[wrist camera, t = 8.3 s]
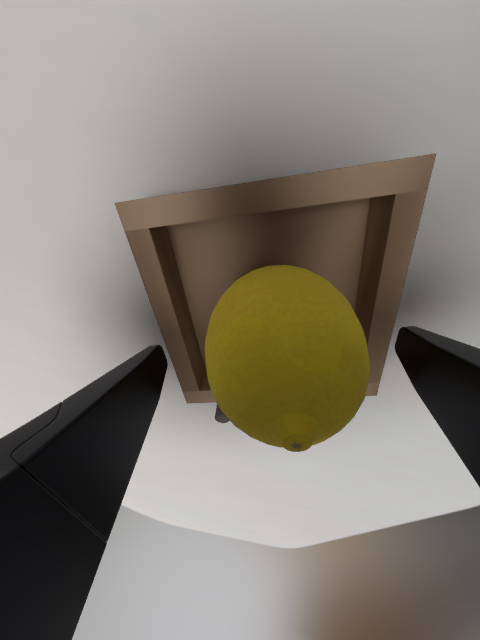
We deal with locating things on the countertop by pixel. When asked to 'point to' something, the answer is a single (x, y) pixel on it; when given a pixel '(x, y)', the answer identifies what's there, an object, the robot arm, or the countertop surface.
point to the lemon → (286, 357)
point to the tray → (278, 250)
